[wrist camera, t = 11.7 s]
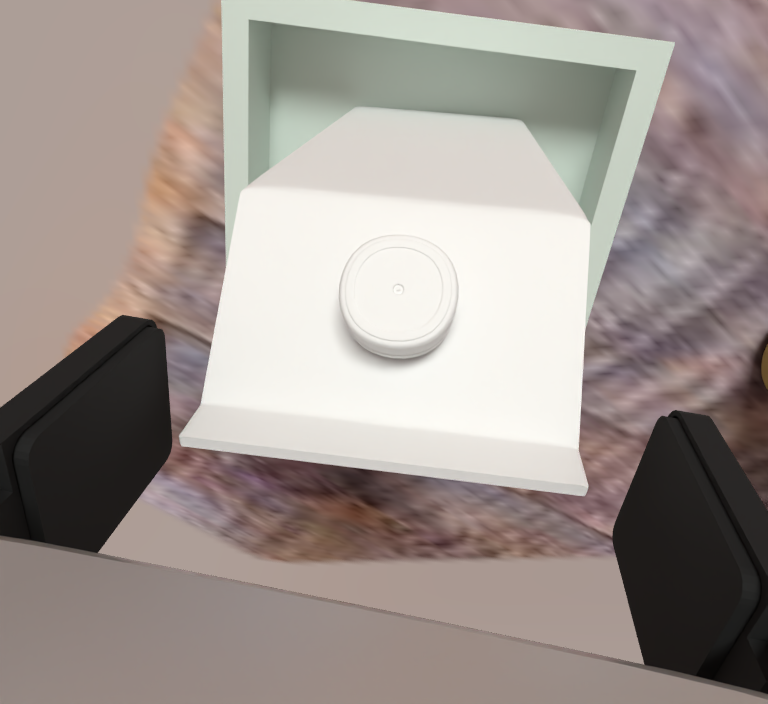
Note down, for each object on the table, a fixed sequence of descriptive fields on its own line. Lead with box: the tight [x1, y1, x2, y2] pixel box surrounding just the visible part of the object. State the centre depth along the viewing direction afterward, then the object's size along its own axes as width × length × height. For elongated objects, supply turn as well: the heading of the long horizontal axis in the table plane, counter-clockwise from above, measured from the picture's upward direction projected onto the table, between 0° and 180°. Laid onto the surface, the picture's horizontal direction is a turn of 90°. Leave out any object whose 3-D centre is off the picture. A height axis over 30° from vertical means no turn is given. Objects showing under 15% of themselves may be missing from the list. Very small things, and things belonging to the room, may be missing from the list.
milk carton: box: [179, 106, 590, 496], centre depth 18 cm, size 7×7×19 cm
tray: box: [221, 0, 675, 328], centre depth 26 cm, size 16×14×4 cm
